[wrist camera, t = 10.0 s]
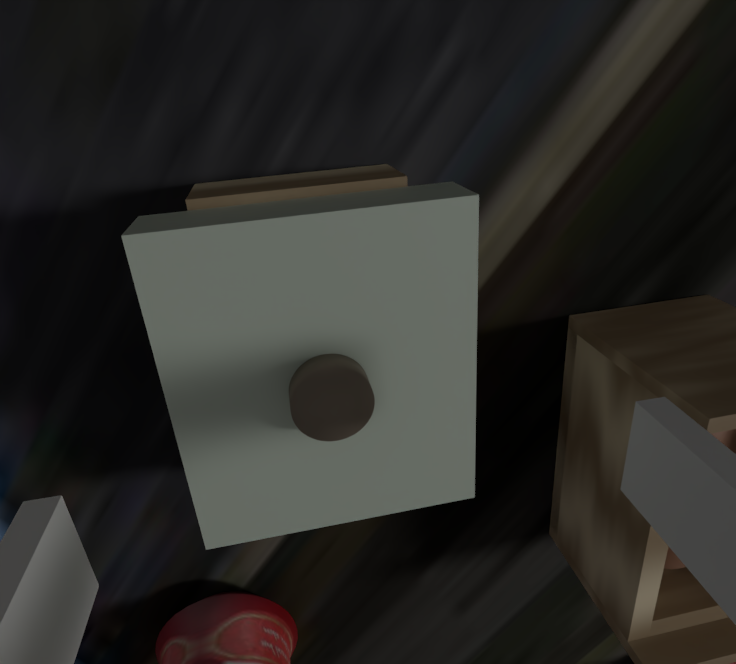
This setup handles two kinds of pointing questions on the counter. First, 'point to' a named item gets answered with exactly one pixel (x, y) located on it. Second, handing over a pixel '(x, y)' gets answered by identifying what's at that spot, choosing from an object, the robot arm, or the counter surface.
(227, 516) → the lid
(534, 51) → the counter surface
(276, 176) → the stand
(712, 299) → the wooden box
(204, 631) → the liquor
